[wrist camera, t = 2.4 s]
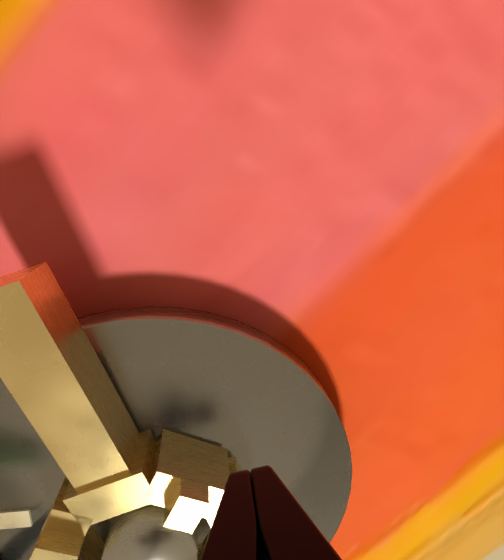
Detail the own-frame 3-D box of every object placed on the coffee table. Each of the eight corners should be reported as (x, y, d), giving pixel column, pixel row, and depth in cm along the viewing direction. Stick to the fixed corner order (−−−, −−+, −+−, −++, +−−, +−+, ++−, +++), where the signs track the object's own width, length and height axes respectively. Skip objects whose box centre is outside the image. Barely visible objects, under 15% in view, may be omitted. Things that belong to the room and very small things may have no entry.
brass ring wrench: (272, 540, 20) (285, 610, 17) (107, 600, 20) (90, 681, 17) (136, 230, 14) (118, 251, 11) (-103, 312, 14) (-190, 357, 11)
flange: (362, 553, 24) (396, 639, 19) (49, 646, 23) (14, 759, 19) (309, 258, 17) (345, 293, 13) (-141, 374, 16) (-263, 453, 12)
